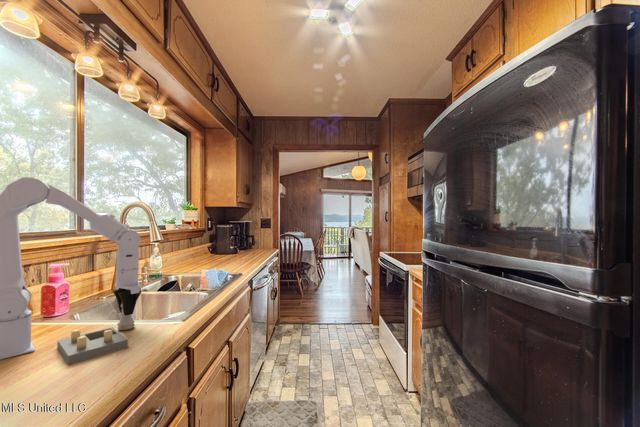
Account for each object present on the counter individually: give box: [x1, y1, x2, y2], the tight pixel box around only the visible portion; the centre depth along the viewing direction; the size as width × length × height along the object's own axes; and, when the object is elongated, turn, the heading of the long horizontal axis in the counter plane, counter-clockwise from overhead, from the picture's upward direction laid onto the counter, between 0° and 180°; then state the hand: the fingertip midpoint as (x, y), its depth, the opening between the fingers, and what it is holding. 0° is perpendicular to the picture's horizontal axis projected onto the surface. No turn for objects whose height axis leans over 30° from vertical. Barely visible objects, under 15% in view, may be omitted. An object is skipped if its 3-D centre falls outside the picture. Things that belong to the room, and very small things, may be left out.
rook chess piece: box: [116, 304, 135, 331], centre depth 89 cm, size 4×4×8 cm
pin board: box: [56, 326, 129, 365], centre depth 76 cm, size 13×12×4 cm
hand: (126, 313), depth 88 cm, fingers closed on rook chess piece, 3 cm apart
